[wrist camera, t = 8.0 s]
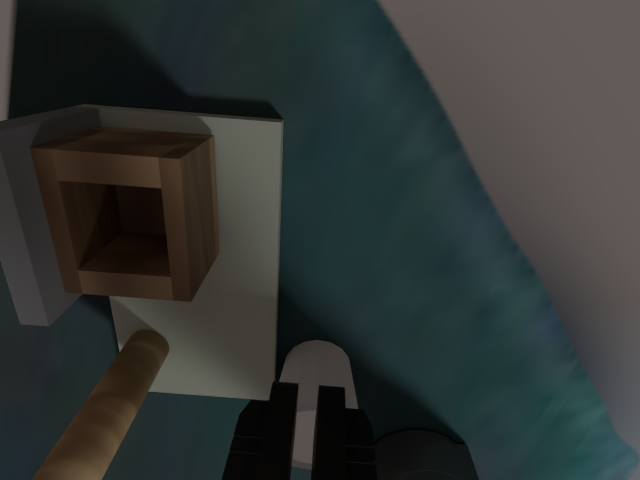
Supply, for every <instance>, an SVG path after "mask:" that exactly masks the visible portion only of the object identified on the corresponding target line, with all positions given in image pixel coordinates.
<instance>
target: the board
mask: <svg viewBox="0 0 640 480" xmlns="http://www.w3.org/2000/svg"><path fill="white" fill-rule="evenodd" d="M75 107H87V108H98V109H99V115H100V122H101V126H102V127H115V128H127V129H140V130H153V131H166V132H179V133H192V134H205V135H214V141H215V164H216V187H217V210H218V233H219V254H218V256H217V258H216V259H215V261H214V263H213V265H212V266H211V268H210V270H209V272H208V273H207V275H206V277H205V279H204V281H203V282H202V284H201V286H200V288H199V289H198V291H197V293H196V295H195V296H194V298H193V300H192V302H184V301H171V300H158V299H145V298H131V297H118V296H109V299H110V304H111V309H112V315H113V320H114V325H115V331H116V336H117V341H118V346H119V352H120V351H121V349H122V348H123V347H124V345H125V344H126V342H127V341H128V339H129V338H130V336H131V335H132V334H133V333H134V332H136V331H139V330H150V331H154V332H156V333H158V334H160V335H161V336H163V337H164V338H165V339H166V341H167V342H168V344H169V353H168V355H167V357H166V359H165V361H164V363H163V365H162V366H161V368H160V370H159V372H158V374H157V376H156V378H155V380H154V381H153V383H152V385H151V387H150V389H149V391H150V392H164V393H177V394H191V395H204V396H218V397H231V398H244V399H258V400H269V397H270V392H271V387H272V383H273V381H276V352H277V319H278V286H279V253H280V220H281V187H282V154H283V121H284V120H283V119H270V118H257V117H244V116H232V115H219V114H206V113H193V112H180V111H167V110H154V109H141V108H129V107H116V106H103V105H90V104H83V105H78V106H75Z"/></svg>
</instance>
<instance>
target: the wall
mask: <svg viewBox="0 0 640 480" xmlns="http://www.w3.org/2000/svg"><path fill="white" fill-rule="evenodd" d="M98 126H101V122H100V115H99V109H98V108H87V107H75V106H73V107H68V108H63V109H58V110H53V111H48V112H43V113H39V114H34V115H29V116H24V117H19V118H14V119H9V120H4V121H0V261H1V264H2V267H3V270H4V274H5V277H6V280H7V283H8V286H9V289H10V293H11V296H12V299H13V302H14V305H15V309H16V312H17V315H18V318H19V321H20V324H25V325H39V326H50V325H51V324H52V323H53V322H54V321H55V320H56V319H57V318H58V317H59V316H60V315H61V314H62V313H63V312H64V311H65V310H66V309H67V308H69V307H70V306H71V305H72V304H73V303H74V302H75V301H76V300H77V299H78V298H79V297H80V296H81V295H82V294H78V293H65V291H64V287H63V283H62V279H61V274H60V270H59V266H58V262H57V258H56V254H55V250H54V246H53V242H52V238H51V233H50V229H49V225H48V221H47V217H46V213H45V209H44V205H43V201H42V197H41V192H40V188H39V184H38V180H37V176H36V172H35V168H34V164H33V160H32V156H31V151H30V147H33V146H37V145H40V144H43V143H46V142H49V141H53V140H56V139H59V138H62V137H66V136H69V135H72V134H75V133H78V132H82V131H85V130H88V129H91V128H95V127H98Z"/></svg>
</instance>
